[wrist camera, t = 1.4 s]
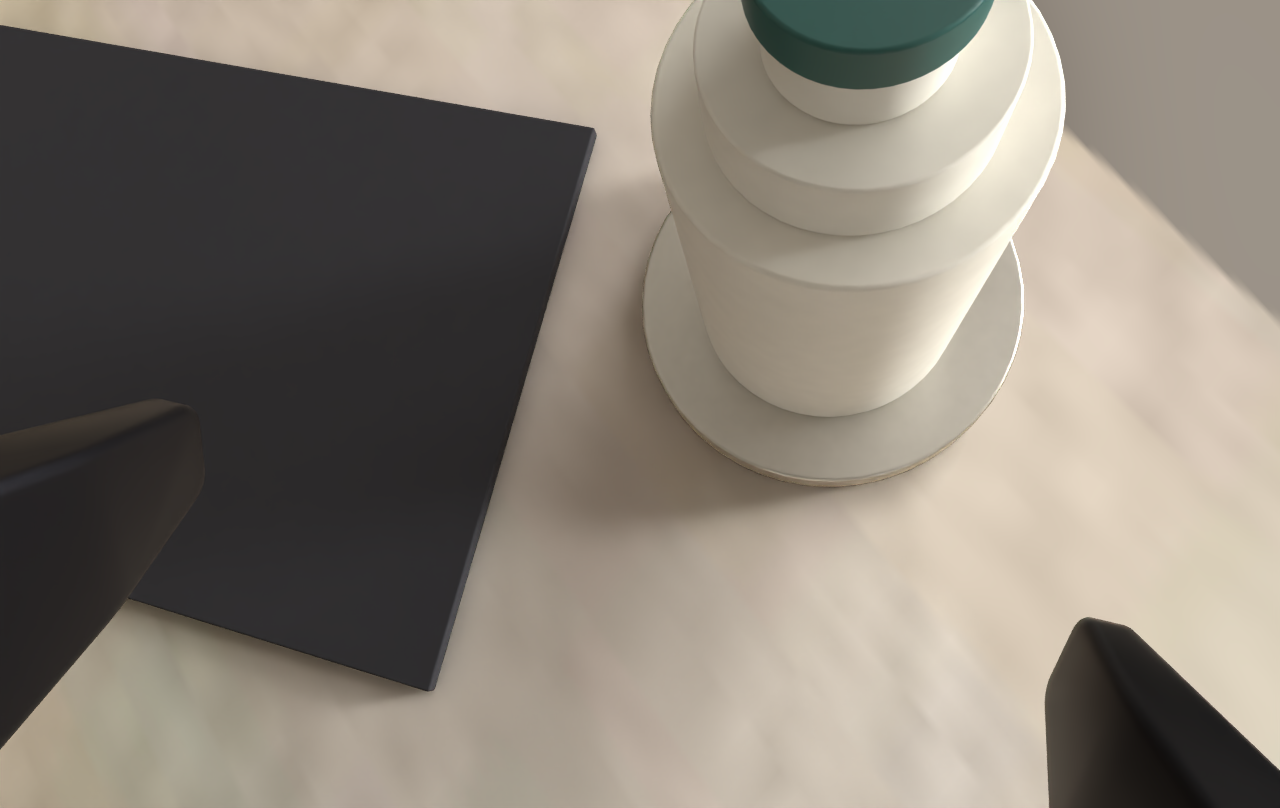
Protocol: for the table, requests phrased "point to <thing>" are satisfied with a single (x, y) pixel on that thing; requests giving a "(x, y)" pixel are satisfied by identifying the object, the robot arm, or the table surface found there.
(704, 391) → the off-white round coaster
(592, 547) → the table surface
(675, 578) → the table surface
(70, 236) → the felt mat
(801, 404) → the bottle
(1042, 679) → the table surface
